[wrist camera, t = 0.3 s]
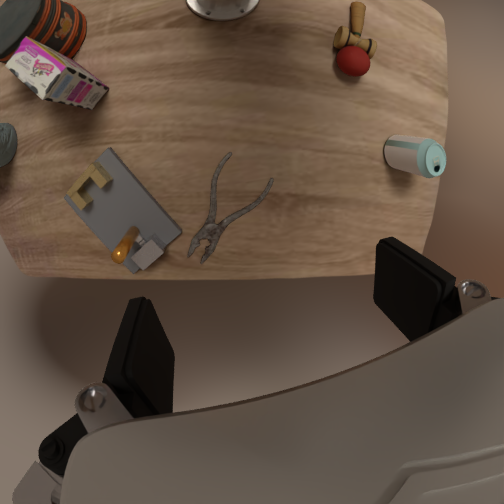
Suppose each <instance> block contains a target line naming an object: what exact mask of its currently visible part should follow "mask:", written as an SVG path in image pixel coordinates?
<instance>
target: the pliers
mask: <svg viewBox="0 0 504 504" xmlns="http://www.w3.org/2000/svg"><path fill="white" fill-rule="evenodd" d="M231 155H232V152H229V153H228V154H227V155H226V156H225V157H224V158H223V160H222V161H221V162H220V164H219V165H218V167H217V169H216V171H215V173H214V176H213V179H212V184H211V199H210V211H209V215H208V218H207V220H206V222H205V224H204V226H203V227H202V228H201V229H200V231H199V232H198V233H197V234H196V235H195V237H194V238H193V239H192V242H191V245H190V249H189V252H188V255H187V257H189V256H190V255H191V254H192V253H193V252H194V249H195V248H196V247H198V246H199V245H200V243H199V240H200V239H205V238H208V241H209V242H210V245H209V246H207V247H206V248H205V251H206V252H205V254H204V255H203V257H202V260H201V264H202V263H203V262H204V261H205V260H206V259H207V258H208V257H209V256H210V255H211V254H212V252H213V251H214V250H215V247H216V245H217V242H218V240H219V237H220V235H221V234H222V232H223V231H224V230H225V228H226V227H227V225H228V224H230V223H231V222H232V221H234V220H235V219H237V218H238V217H240V216H242V215H243V214H245V213H247V212H249V211H250V210H252V209H253V208H255V207H256V206H257V205H258V204H259V203H260V202H261V201H262V200H263V199H264V197H265V196H266V195H267V193H268V191H269V190H270V188H271V186H272V183H273V180H274V179H273V178H271V179H270V181H269V183H268V185H267V187H266V189H265V191H264V192H263V193H262V195H261V196H260V197H259V198H258V199H257V200H256V201H255V202H253V203H252V204H250V205H249V206H247V207H245V208H243V209H241V210H239V211H237V212H235V213H233V214H231V215H229V216H228V217H226V218H225V219H224V220H222V221H221V222H220V223H219V224H215V223H214V222H215V217H216V183H217V178H218V175H219V173H220V170H221V168H222V166H223V165H224V164H225V162H226V161H227V160H228V159H229V157H230V156H231Z"/></svg>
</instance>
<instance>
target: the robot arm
mask: <svg viewBox="0 0 504 504" xmlns="http://www.w3.org/2000/svg"><path fill="white" fill-rule="evenodd" d="M258 2H259V0H186V3H187V5H188V7H189V8H190V9H191V10H192V11H193V12H194V13H195V14H197V15H199V16H201V17H203V18H206V19H210V20H217V21H227V20H234V19H237V18H241V17H243V16H245V15H247V14H248V13H250V12H251V11H252V10H253V9H254V8H255V7H256V6H257V4H258ZM241 12H243V13H241ZM208 14H209V15H208ZM455 281H456V277H454V276H453V275H451V274H450V273H448V272H447V271H446V270H444V269H442V268H441V267H440V266H438V265H437V264H435V263H434V262H432V261H431V260H429V259H428V258H426V257H424V256H423V255H421V254H420V253H418V252H417V251H415V250H414V249H412V248H410V247H409V246H407V245H406V244H404V243H402V242H401V241H399V240H397V239H396V238H394V237H388V238H384V239H381V240H380V241H379V243H378V244H377V246H376V263H375V281H374V294H373V299H374V302H375V304H376V305H377V306H378V307H379V308H380V309H381V310H382V311H383V312H384V314H385V315H386V316H387V317H388V318H389V319H390V320H391V321H392V322H393V323H394V324H395V325H396V326H397V327H398V328H399V330H400V331H401V332H402V333H403V334H404V335H405V336H406V337H407V338H408V339H409V341H410V342H409V343H407V344H405V345H403V346H401V347H399V348H397V349H395V350H393V351H390V352H388V353H386V354H383V355H381V356H379V357H376V358H374V359H372V360H369V361H367V362H365V363H362V364H359V365H357V366H354V367H352V368H349V369H347V370H344V371H341V372H338V373H336V374H333V375H330V376H327V377H324V378H321V379H319V380H315V381H312V382H309V383H306V384H303V385H300V386H296V387H293V388H290V389H286V390H283V391H279V392H275V393H271V394H267V395H263V396H260V397H255V398H251V399H247V400H242V401H238V402H233V403H228V404H223V405H218V406H213V407H207V408H201V409H195V410H189V411H182V412H175V413H173V380H174V361H175V356H174V351H173V349H172V347H171V344H170V342H169V340H168V338H167V336H166V334H165V332H164V329H163V327H162V325H161V323H160V321H159V318H158V316H157V314H156V311H155V309H154V307H153V304H152V302H151V300H150V299H147V300H146V298H145V297H139V298H134V299H130V300H129V303H128V306H127V308H126V311H125V314H124V316H123V319H122V322H121V325H120V328H119V331H118V334H117V337H116V339H115V342H114V345H113V348H112V352H111V354H110V358H109V361H108V364H107V367H106V371H105V374H104V378H103V381H102V383H101V382H96V383H92V384H90V385H87V386H86V387H84V388H83V389H82V390H81V391H80V392H79V394H78V395H77V397H76V400H75V408H76V411H77V414H76V415H74V416H73V417H72V418H70V419H69V420H68V421H67V422H65V423H64V424H63V425H62V426H60V427H59V428H58V429H56V430H55V431H54V432H52V433H51V434H50V435H49V436H47V437H46V438H45V439H44V440H43V441H42V443H41V445H40V447H39V459H40V462H39V463H38V462H36V461H35V462H34V463H33V465H32V466H31V467H30V469H29V470H28V471H27V473H26V474H25V476H24V477H23V478H22V480H21V481H20V483H19V484H18V486H17V487H16V489H15V490H14V492H13V498H12V500H13V504H504V298H495V297H491V296H490V293H489V290H488V289H487V287H486V286H485V285H484V284H482V283H480V282H478V281H476V280H463V281H462V282H460V283H459V284H458V287H455V286H454V285H455Z"/></svg>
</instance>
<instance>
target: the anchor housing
mask: <svg viewBox="0 0 504 504" xmlns="http://www.w3.org/2000/svg"><path fill="white" fill-rule="evenodd" d="M165 248H166V245H165V244H164V243H163V241H162V240H161V239H160V238H159V237H158V236H157V235H156V234H155V233H153V234H152V235H151V236H150V237H149V239H148V241H147V242H146V243H145V244H144V245H143V246H142V247H141V248H140V247H138V248H137V249H136V250H135V251H134V253H133V255H132V256H131V259H132V260H133V261H134V262H135V263H136V264H137V265H138V266H139V267H140V268H141V269H142V270H144V269H146V268H147V267H148V266H149V265H150V264H151V263H153V262H154V261H155V260H156V259H157V258H158V257H159V256H161V255H162V254H163V253H164V251H165Z"/></svg>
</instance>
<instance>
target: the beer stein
mask: <svg viewBox="0 0 504 504" xmlns="http://www.w3.org/2000/svg"><path fill="white" fill-rule="evenodd" d="M85 33H86V19H85V16H84V14H82V13H81V12H80V11H79V10H78V9H77V8H76V7H75V6H73V5H71V4H69V3H67V2H63V1H61V0H6V1H5V2H4V3H3V5H2V6H1V7H0V62H2V63H4V64H7V62H8V61H9V59H10V58H11V56H12V55H13V53H14V52H15V50H16V49H17V47H18V46H19V45H20V43H21V42H22V40H23V39H24V38H25V37H26V36H27V37H29V38H31V39H33V40H35V41H37V42H40V43H41V44H43V45H45V46H47V47H49V48H51V49H53V50H55V51H56V52H58V53H60V54H62V55H64V56H66V57H68V58H70V59H71V58H72V56H73V55H75V53H76V51H78V50H79V48H80V46H81V44H82V42H83V40H84V38H85V35H86V34H85Z"/></svg>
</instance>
